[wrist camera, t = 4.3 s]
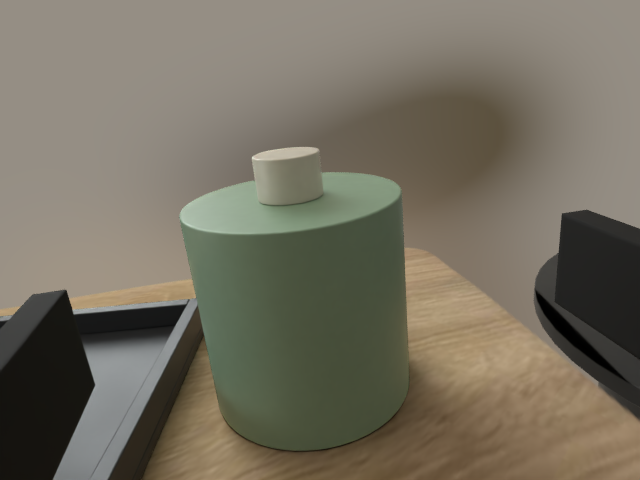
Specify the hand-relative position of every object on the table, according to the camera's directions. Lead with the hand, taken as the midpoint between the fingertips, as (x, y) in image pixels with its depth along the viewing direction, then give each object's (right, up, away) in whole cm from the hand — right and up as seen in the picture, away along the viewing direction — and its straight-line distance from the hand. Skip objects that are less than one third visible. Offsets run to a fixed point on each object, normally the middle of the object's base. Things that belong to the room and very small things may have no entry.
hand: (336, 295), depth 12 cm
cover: (-1, -6, +12) cm, 14 cm away
